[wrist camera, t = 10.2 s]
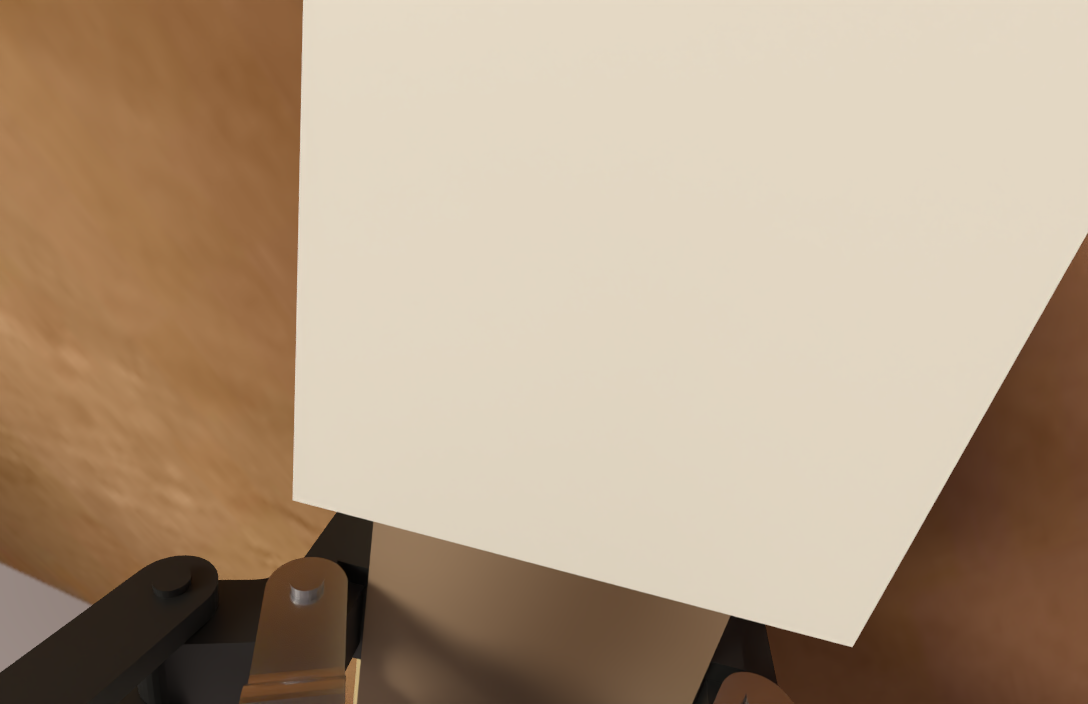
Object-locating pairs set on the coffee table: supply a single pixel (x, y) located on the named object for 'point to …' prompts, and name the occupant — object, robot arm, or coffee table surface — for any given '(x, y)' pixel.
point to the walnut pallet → (519, 632)
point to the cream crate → (676, 276)
